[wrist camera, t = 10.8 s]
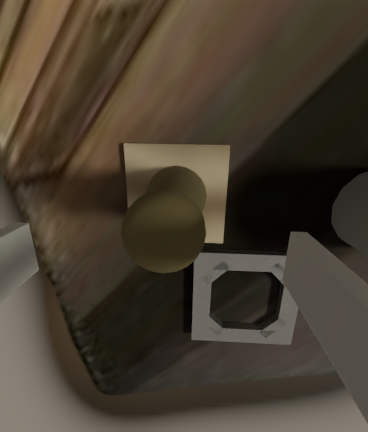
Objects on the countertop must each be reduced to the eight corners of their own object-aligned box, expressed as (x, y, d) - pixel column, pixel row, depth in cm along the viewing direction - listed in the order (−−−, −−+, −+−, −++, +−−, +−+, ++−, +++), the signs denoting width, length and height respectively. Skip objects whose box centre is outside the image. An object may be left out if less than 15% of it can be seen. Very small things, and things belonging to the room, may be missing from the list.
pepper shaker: (205, 224, 24) (213, 291, 13) (148, 223, 24) (111, 288, 14) (207, 165, 22) (217, 189, 12) (144, 165, 22) (99, 189, 12)
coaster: (125, 143, 22) (123, 143, 22) (229, 144, 22) (230, 145, 21) (131, 237, 26) (130, 240, 25) (222, 240, 25) (222, 243, 24)
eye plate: (194, 248, 26) (194, 252, 25) (305, 252, 25) (309, 256, 24) (191, 333, 29) (191, 339, 28) (287, 338, 29) (290, 344, 28)
